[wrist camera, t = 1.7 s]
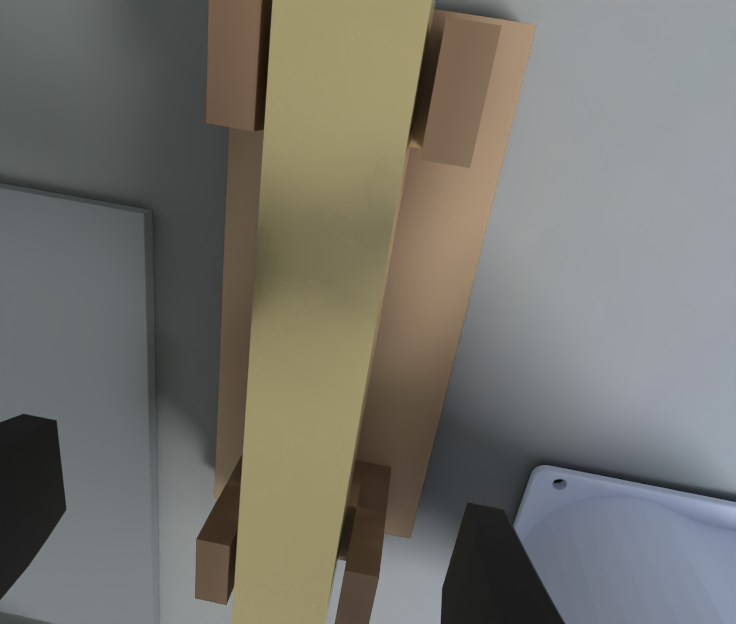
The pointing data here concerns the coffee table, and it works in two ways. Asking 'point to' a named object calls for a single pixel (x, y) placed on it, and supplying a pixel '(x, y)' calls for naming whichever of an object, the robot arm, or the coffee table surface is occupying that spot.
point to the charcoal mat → (85, 398)
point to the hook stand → (404, 282)
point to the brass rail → (320, 284)
